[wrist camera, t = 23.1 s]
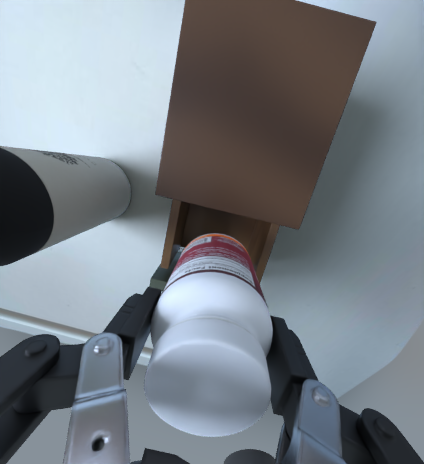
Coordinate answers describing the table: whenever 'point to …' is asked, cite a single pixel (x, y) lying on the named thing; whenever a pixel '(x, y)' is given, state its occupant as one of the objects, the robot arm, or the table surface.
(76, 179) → the travel mug
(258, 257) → the drawer
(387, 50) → the table surface
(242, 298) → the pill bottle
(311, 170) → the cabinet
